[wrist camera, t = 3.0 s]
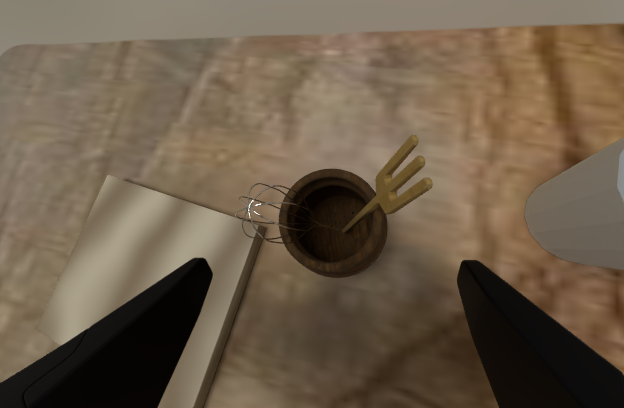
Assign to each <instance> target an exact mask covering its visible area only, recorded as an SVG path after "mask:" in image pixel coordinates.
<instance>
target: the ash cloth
mask: <svg viewBox="0 0 624 408" xmlns="http://www.w3.org/2000/svg"><path fill="white" fill-rule="evenodd" d="M254 226H255V228H256V229H257V231H258V232H259V233H260V235H262V236H264V233H265V231H266V228H265V227H262V226H259V225H256V224H254ZM243 228H244V231H245V233H246V234H247V235H248V236H251V237H256V238H262V237H261V236H260V235H259V234H258V233H257V232H256V230H255V229H254V227H253V225H252V223H250V222H247V221H244V222H243ZM248 236H246V235H245V234H244V232H243V230H242V220H241V219H238V218H235V217H232V216H229V215H226V214H223V213H220V212H217V211H214V210H211V209H208V208H205V207H202V206H199V205H196V204H193V203H190V202H187V201H184V200H181V199H178V198H175V197H172V196H169V195H166V194H163V193H160V192H157V191H154V190H151V189H148V188H145V187H142V186H139V185H136V184H133V183H130V182H127V181H124V180H121V179H118V178H115V177H112V176H109V175H108V176H107V178H106V180H105V182H104V184H103V186H102V188H101V191H100V193H99V195H98V197H97V199H96V201H95V203H94V206H93V208H92V210H91V212H90V214H89V216H88V218H87V221H86V223H85V225H84V227H83V229H82V231H81V233H80V236H79V238H78V240H77V242H76V244H75V246H74V248H73V250H72V253H71V255H70V257H69V259H68V261H67V263H66V265H65V268H64V270H63V272H62V274H61V276H60V278H59V280H58V283H57V285H56V287H55V289H54V291H53V293H52V295H51V298H50V300H49V302H48V304H47V306H46V308H45V310H44V313H43V315H42V317H41V319H40V321H39V323H38V325H37V328H36V330H38V331H39V332H41V333H42V334H44V335H46V336H47V337H49V338H50V339H52V340H53V341H55V342H56V343H58V344H59V345H63V344H64V343H66V342H68V341H69V340H71V339H72V338H74V337H75V336H77V335H78V334H80V333H81V332H83V331H84V330H86V329H87V328H90V326H92V325H93V324H95V323H96V322H98V321H99V320H101V319H102V318H104V317H105V316H107V315H108V314H110V313H111V312H113V311H114V310H116V309H117V308H119V307H120V306H122V305H123V304H125V303H126V302H128V301H129V300H131V299H132V298H134V297H135V296H137V295H138V294H140V293H141V292H143V291H144V290H146V289H147V288H149V287H150V286H152V285H153V284H155V283H156V282H158V281H159V280H161V279H162V278H164V277H165V276H167V275H168V274H170V273H171V272H173V271H174V270H176V269H177V268H179V267H180V266H182V265H183V264H185V263H186V262H188V261H189V260H191V259H192V258H205V259H206V260H207V262H208V264H209V266H210V268H211V270H212V272H213V278H212V281H211V284H210V287H209V290H208V293H207V296H206V298H205V301H204V304H203V307H202V310H201V313H200V315H199V318H198V320H197V322H196V325H195V327H194V329H193V331H192V333H191V336H190V338H189V340H188V342H187V344H186V347H185V349H184V351H183V353H182V355H181V358H180V360H179V362H178V364H177V366H176V368H175V371H174V373H173V375H172V377H171V379H170V382H169V384H168V386H167V388H166V390H165V393H164V395H163V397H162V399H161V401H160V404H159V406H158V408H203V406H204V403H205V400H206V397H207V394H208V392H209V389H210V386H211V383H212V380H213V377H214V375H215V372H216V369H217V366H218V363H219V360H220V358H221V355H222V352H223V349H224V346H225V344H226V341H227V338H228V335H229V332H230V329H231V327H232V324H233V321H234V318H235V315H236V312H237V310H238V307H239V304H240V301H241V298H242V296H243V293H244V290H245V287H246V284H247V281H248V279H249V276H250V273H251V270H252V267H253V264H254V262H255V259H256V256H257V253H258V250H259V248H260V245H261V242H262V239H255V238H250V237H248Z"/></svg>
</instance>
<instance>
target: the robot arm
mask: <svg viewBox="0 0 624 408" xmlns="http://www.w3.org/2000/svg"><path fill="white" fill-rule="evenodd" d="M212 278H213V272H212V270H211V268H210V266H209V264H208V262H207V260H206V259H205V258H192V259H191V260H189V261H188V262H186V263H185V264H183V265H182V266H180V267H179V268H177V269H176V270H174V271H173V272H171V273H170V274H168V275H167V276H165V277H164V278H162V279H161V280H159V281H158V282H156V283H155V284H153V285H152V286H150V287H149V288H147V289H146V290H144V291H143V292H141V293H140V294H138V295H137V296H135V297H134V298H132V299H131V300H129V301H128V302H126V303H125V304H123V305H122V306H120V307H119V308H117V309H116V310H114V311H113V312H111V313H110V314H108V315H107V316H105V317H104V318H102V319H101V320H99V321H98V322H96V323H95V324H93V325H92V326H90V328H87V329H86V330H84V331H83V332H81V333H80V334H78V335H77V336H75V337H74V338H72V339H71V340H69V341H68V342H66V343H64V344H63V345H61V346H60V347H58V348H57V349H55V350H54V351H52V352H50V353H49V354H47V355H46V356H44V357H42V358H41V359H39V360H37V361H36V362H34V363H33V364H31V365H29V366H28V367H26V368H24V369H23V370H21V371H20V372H18V373H16V374H15V375H13V376H11V377H10V378H8V379H6V380H5V381H3V382H1V383H0V408H158V406H159V404H160V401H161V399H162V397H163V395H164V393H165V390H166V388H167V386H168V384H169V382H170V379H171V377H172V375H173V373H174V371H175V368H176V366H177V364H178V362H179V360H180V358H181V355H182V353H183V351H184V349H185V347H186V344H187V342H188V340H189V338H190V336H191V333H192V331H193V329H194V327H195V325H196V322H197V320H198V318H199V315H200V313H201V310H202V307H203V304H204V301H205V298H206V296H207V293H208V290H209V287H210V284H211V281H212ZM457 284H458V288H459V292H460V296H461V299H462V303H463V307H464V311H465V315H466V318H467V322H468V326H469V329H470V333H471V336H472V338H473V341H474V344H475V346H476V349H477V352H478V354H479V357H480V359H481V362H482V364H483V367H484V370H485V372H486V375H487V377H488V380H489V382H490V385H491V388H492V390H493V393H494V395H495V398H496V400H497V403H498V406H499V408H624V375H623V373H622V372H621V371H620V370H619V369H617V368H616V367H615V366H614V365H612V364H611V363H610V362H608V361H607V360H606V359H604V358H603V357H602V356H601V355H599V354H598V353H597V352H595V351H594V350H593V349H592V348H590V347H589V346H588V345H586V344H585V343H584V342H583V341H581V340H580V339H579V338H577V337H576V336H575V335H574V334H572V333H571V332H570V331H568V330H567V329H566V328H565V327H563V326H562V325H561V324H559V323H558V322H557V321H556V320H554V319H553V318H552V317H550V316H549V315H548V314H546V313H545V312H544V311H543V310H541V309H540V308H539V307H537V306H536V305H535V304H534V303H532V302H531V301H530V300H528V299H527V298H526V297H525V296H523V295H522V294H521V293H519V292H518V291H517V290H516V289H514V288H513V287H512V286H510V285H509V284H508V283H507V282H505V281H504V280H503V279H501V278H500V277H499V276H498V275H496V274H495V273H494V272H492V271H491V270H490V269H489V268H487V267H486V266H485V265H483V264H482V263H481V262H479V261H477V260H463V261H462V262H461V265H460V269H459V273H458V277H457Z"/></svg>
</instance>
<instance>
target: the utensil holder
mask: <svg viewBox="0 0 624 408" xmlns="http://www.w3.org/2000/svg"><path fill="white" fill-rule="evenodd" d="M417 145H418V138H417V136H416V135H411V136H410V137H409V138H408V139H407V141H406V142H405V143H404V144H403V145H402V146H401V148H400V149H399V150H398V151H397V152H396V153H395V155H394V156H393V157H392V158H391V159H390V160H389V162H388V163H387V164H386V165H385V166H384V167H383V169H382V170H381V171H380V172H379V173H378V175H377V176H376V193H375V192H374V190H373V189H372V188H371V187H370V185H369V184H368V183H367V182H366V181H364V180H363V179H362V178H360V177H359V176H357V175H355V174H353V173H351V172H348V171H345V170H340V169H323V170H318V171H315V172H312V173H310V174H308V175H306V176H304V177H303V178H301V179H300V180H299V181H297V182H296V183H295V184H294V185H293V186H292V187H291V189H290V188H287V187H285V186H281V185H273V186H269V185H266V184H263V183H256V184H254V185H253V186H255V185H257V184H262V185H265V186H268V188H266V189H264V190H262V191H261V192H260V193H259V194H258V195H260V194H261V193H262V192H263V191H265V190H267V189H269V188H274V187H275V186H280V187H284V188H287V189H289V191H288V193H287V194H285V193H284V192H282V191H280V190H278V189H276V188H274V189H276V190H278V191H280V192H282V193H283V194H285V195H286V196H285V198H284V200H283V202H270V203H265V202H262V201H259V200H256V198H257V196H258V195H257V196H256V197H255V198H254V199H252V198H249V194H250V191H251V189H252V187H253V186H252V187H251V188H250V190H249V192H248V197H245V196H240V197H239V200H240V201H241V202H242V200H241V199H240V198H241V197H244V198H247V204H248V206H247V205H246V204H245V203H243V202H242V203H243V204H244V205H245V206H246V208H243V209H241V210H239V211H238V212H240V211H242V210H244V209H247V210H246V212H245V214H244V216H243V218H239V217H238V216H237V213H238V212H236V214H235V216H236V217H237V218H239V219H242V230H243V232H244V234H245V235H246V236H248V235H247V234H246V233H245V231H244V228H243V222H244V220H246V221H251V223H252V225H253V227H254V229H255V230H256V232H257V233H258V234H259V235H260V233H259V232H258V231H257V229H256V228H255V226H254V224H253V222H257V223H266V222H258V221H252V219H251V215H250V210H252V209H251V207H254V206H259V205H264V204H268V205H271V204H275V203H282V205H281V208H278V207H276V206H273V205H271V206H273V207H276V208H278V209H280V213H279V223H275V222H273V221H271V220H269V219H267V218H265V217H264V216H262V215H260V214H259V213H257V212H255V211H254V210H252V211H253V212H254V213H256V214H258V215H259V216H261V217H263V218H264V219H266V220H268V221H270V222H272V223H266V224H277V225H279V229H280V234H281V237H278V238H282V240H283V243H282V242H273V241H269V240H273V239H278V238H272V239H265V238H264V237H263V236H262V235H260V236H261V237H262V238H256V237H251V236H248V237H250V238H255V239H264V240H266V241H268V242H272V243H280V244H284V245H285V247H286V248H287V250H288V251H289V253H290V254H291V255H292V256H293V257H294V258H295V259H296V260H297V261H298V262H299V263H301V264H302V265H303V266H305V267H306V268H308V269H309V270H311V271H313V272H315V273H317V274H319V275H322V276H326V277H333V278H341V277H348V276H352V275H355V274H357V273H359V272H361V271H363V270H365V269H366V268H368V267H369V266H370V265H371V264H372V263H373V262H374V261H375V260H376V259H377V257H378V256H379V255H380V253H381V251H382V249H383V247H384V244H385V241H386V237H387V218H386V214H392V213H395V212H396V211H398V210H399V209H401V208H402V207H404V206H405V205H407V204H408V203H410V202H411V201H413V200H414V199H416V198H417V197H419V196H420V195H422V194H423V193H425V192H426V191H428V190H429V189H431V188H432V184H433V183H432V180H431V179H430V178H428V177H427V178H424V179H422V180H421V181H420V182H418V183H417V184H415V185H414V186H413V187H411V188H410V189H408V190H407V191H406V192H404V193H403V194H401V195H400V196H399V197H397V190H398V189H399V188H400V187H401V186H402V185H404V184H405V183H406V182H407V181H408V180H409V179H410V178H411V177H412V176H414V175H415V174H416V173H417V172H418V171H419V170H420V169H421V168H422V167H424V165H425V159H424V157H423V156H417V157H416V158H415V159H414V160H413V161H412V162H411V163H410V164H409V165H408V166H407V167H405V168H404V169H403V170H402V171H401V172H400V173H399V174H398V175H397V176H396V177H395V178H394V179H393V180H392V174H393V172H394V171H395V170H396V169H397V168H398V167H399V165H400V164H401V163H402V162H403V161H404V160H405V159H406V157H407V156H408V155H409V154H410V153H411V152H412V150H413V149H414V148H415V147H416V146H417ZM249 199H252V202H253V201H254V200H255V201H259V202H262V204H257V205H253V206H250V205H251V204H252V202H251V203H250V204H249ZM248 207H249V208H248ZM249 209H250V210H249ZM247 211H248V212H249V217H250V220H247V219H244V218H245V215H246V213H247ZM385 213H386V214H385Z"/></svg>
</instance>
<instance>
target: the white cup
mask: <svg viewBox="0 0 624 408" xmlns="http://www.w3.org/2000/svg"><path fill="white" fill-rule="evenodd" d="M524 217H525V220H526V223H527V226H528V229H529V232H530V234H531V235H532V236H533V237H534V239H535V240H536V241H537V242H538V243H539V245H540V246H541V247H542V248H543V249H545V250H547V251H548V252H550V253H551V254H553V255H555V256H556V257H558V258H560V259H562V260H566V261H570V262H575V263H579V264H583V265H590V266H598V267H605V268H613V269H620V270H624V137H623V138H621V139H620V140H618V141H616V142H614V143H613V144H611V145H609V146H607V147H606V148H604V149H602V150H601V151H599V152H597V153H595V154H594V155H592V156H590V157H588V158H587V159H585V160H583V161H581V162H580V163H578V164H576V165H574V166H573V167H571V168H569V169H567V170H566V171H564V172H562V173H560V174H559V175H557V176H555V177H554V178H552V179H550V180H548V181H547V182H545V183H543V184H541V185H540V186H538V187H536V188H535V190H534V191H533V193H532V194H531V195H530V197H529V198H528V199H527V202H526V209H525V215H524Z"/></svg>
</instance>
